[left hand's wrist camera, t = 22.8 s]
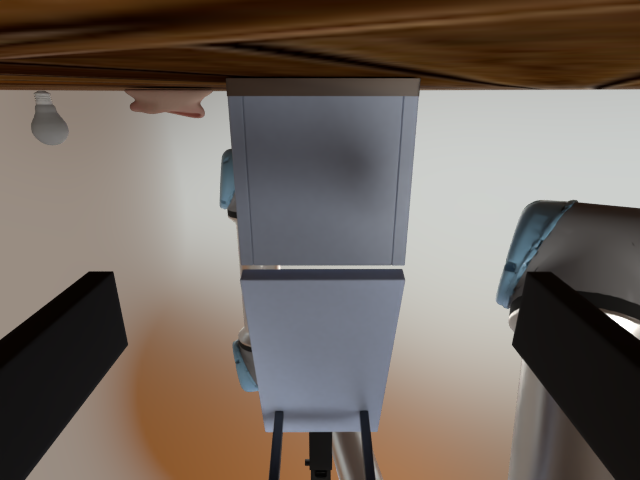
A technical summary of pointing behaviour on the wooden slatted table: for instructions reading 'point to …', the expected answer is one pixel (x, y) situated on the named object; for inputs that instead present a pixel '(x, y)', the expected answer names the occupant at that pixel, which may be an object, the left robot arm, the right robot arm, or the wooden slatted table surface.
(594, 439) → the left robot arm
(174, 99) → the anatomical model
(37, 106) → the light bulb
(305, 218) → the chest
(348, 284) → the lid
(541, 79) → the wooden slatted table surface
